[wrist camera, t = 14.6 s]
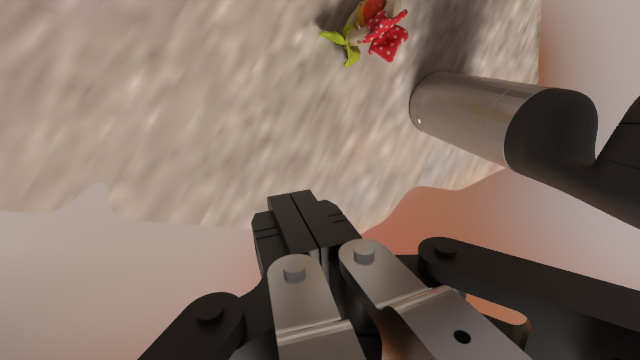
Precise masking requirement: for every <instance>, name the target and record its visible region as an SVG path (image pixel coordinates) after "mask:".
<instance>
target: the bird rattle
mask: <svg viewBox="0 0 640 360" xmlns="http://www.w3.org/2000/svg"><path fill="white" fill-rule="evenodd" d="M400 8H401V0H365V1H362V2H359V4H358V6H357V8H356V9H355V10H354V12H353V13H352V14H351V16H350V17H349V19H348V21H347V23H346V25H345V27H344V28H343V34H342V35H341V34H340V33H338V32H336V31H333V32H329V31H321V32H319V33H318V35H319V36H323V37H325V38H327V39H329V40H331V41H333V42H335V43H337V44H340V45H344V48H345V49H346V50H347V53H348V60H347V61H346V62H345V63H344V67H348V66H351V65H353V64H354V63H356V61H357V60H358V59H359V57H360V50H359V48H358V47H357V46H361V45H365V44H367V43H370V42H372V43H371V45H370V48H369V54H372V53H373V52H375V53H377V54H378V55H379V56H381V57H382V58H383V59H384V60H386V61H387V62H392V61H393V58H394V56H395V53H396V51H397V47H398V46H399V45H400V44H401V43H403V42H405V41H406V40H407V38H408V32H407V31H406V30H405V29H404V28H402V27H400V26H398V25H395V24H396V23H398V22H399V21H400V20H401V19H403V18H404V17H405V16H406V15H407V13H408V11H407V10H406V9H405V10H403V11H402V12H400ZM399 12H400V13H399ZM359 27H361V29H359Z"/></svg>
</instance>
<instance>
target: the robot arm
mask: <svg viewBox="0 0 640 360" xmlns="http://www.w3.org/2000/svg"><path fill="white" fill-rule="evenodd" d="M410 116H411V120H412V122H413V124H414V125H415V127H416V128H417V129H419V130H420V131H422V132H424V133H427V134H429V135H431V136H433V137H436V138H438V139H440V140H442V141H445V142H447V143H449V144H452V145H454V146H456V147H459V148H461V149H463V150H466V151H468V152H470V153H472V154H475V155H477V156H479V157H482V158H484V159H486V160H489V161H491V162H493V163H496V164H498V165H501V166H503V167H505V168H508V169H510V170H512V171H515V172H517V173H519V174H522V175H524V176H526V177H529V178H532V179H534V180H537V181H539V182H541V183H544V184H546V185H549V186H551V187H554V188H556V189H558V190H560V191H563V192H565V193H567V194H569V195H571V196H573V197H575V198H577V199H579V200H581V201H583V202H585V203H587V204H589V205H591V206H593V207H595V208H597V209H599V210H601V211H603V212H605V213H607V214H609V215H611V216H613V217H615V218H617V219H619V220H621V221H623V222H625V223H627V224H629V225H632V226H634V227H636V228H638V229H640V96H639V97H638V98H637V99H636V100H635V101H634V103H633V104H632V105H631V106H630V108H629V109H628V111H627V112H626V114H625V115H624V117H623V118H622V120H621V121H620V123H619V125H618V126H617V127H616V129H615V130H614V132H613V133H612V135H611V137H610V138H609V140H608V141H607V143H606V144H605V146H604V147H603V149H602V151H601V152H600V154H599V155H598V157H597V159H596V158H595V142H596V136H597V129H598V116H597V111H596V108H595V105H594V103H593V102H592V101H591V99H590V98H589V97H587V96H586V95H584V94H582V93H580V92H577V91H573V90H567V89H560V88H553V87H547V86H540V85H534V84H526V83H519V82H512V81H506V80H499V79H492V78H486V77H479V76H472V75H466V74H460V73H453V72H446V71H437V72H434V73H431V74H430V75H428V76H426V77H425V78H424V79H423V80H422V81H421V82H420V83H419V84H418V85H417V87H416V89H415V90H414V92H413V95H412V98H411V101H410ZM267 202H268V210H269V211H265V212H260V213H255V215H254V218H253V220H252V222H251V224H252V230H253V237H254V243H255V250H256V256H257V261H258V265H259V269H260V274H261V277H262V279H261V281H260V283H259V284H258V285H257V286H256V287H255V288H254V289H253V290H251V291H250V292H248V293H247V294H245V295H243V296H241V297H239V298H238V297H237V296H235V295H234V294H231V293H227V292H216V293H211V294H207V295H204V296H202V297H200V298H198V299H196V300H195V301H194V302H192V303H191V304H189V305H188V306H187V307H186V308H185V309H184V310H183V311H182V312H181V314H180V315H179V316H178V317H177V318H176V319H175V320H174V321H173V322H172V323H171V324H170V325H169V327H168V328H167V329H166V330H165V331H164V332H163V333H162V334H161V335H160V336H159V337H158V338H157V339H156V340H155V341H154V342H153V344H152V345H151V346H150V347H149V348H148V349H147V350H146V351H145V352H144V353H143V354H142V355H141V356H140V357H139V358H138V359H137V360H640V291H638V290H634V289H631V288H627V287H624V286H620V285H616V284H612V283H609V282H606V281H602V280H598V279H595V278H591V277H588V276H584V275H580V274H577V273H573V272H570V271H566V270H562V269H559V268H555V267H552V266H548V265H544V264H541V263H537V262H533V261H530V260H526V259H523V258H519V257H516V256H512V255H508V254H504V253H501V252H498V251H494V250H490V249H487V248H483V247H479V246H476V245H473V244H469V243H465V242H462V241H458V240H455V239H451V238H445V237H432V238H427V239H425V240H423V241H422V242H421V243H420V244H419V246H418V255H394V254H393V253H392V252H391V251H390V250H389V249H388V248H387V247H385V246H384V245H383V244H381V243H380V242H377V241H374V240H370V239H363V238H362V237H361V235H360V234H359V233H358V232H357V230H356V229H355V228H354V227H353V225H352V224H351V223H350V222H349V220H347V218H346V217H345V215H344V214H343V213H342V211H341V210H340V209H339V208H338V206H337V205H335V204H333V203H331V202H329V201H327V200H322V201H317V199H316V198H315V196H314V195H313V194H312V192H311V191H310V190H303V191H298V192H292V193H289V194H288V193H286V194H281V195H276V196H270V197H267ZM466 293H468V294H470V295H473V296H476V297H479V298H482V299H485V300H487V301H490V302H493V303H496V304H499V305H502V306H505V307H507V308H510V309H513V310H516V311H518V312H520V313H522V314H523V315H525V316H526V317H527V321H526V322H525V323H524V324H522V325H511V324H509V323H506V322H503V321H500V320H498V319H495V318H493V317H490V316H487V315H484V314H482V313H480V312H479V311H478V310H477V309H475V308H474V307H473V306H472V305H471V304H470V303H469V302H467V301H466V300H465V299H466Z"/></svg>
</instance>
